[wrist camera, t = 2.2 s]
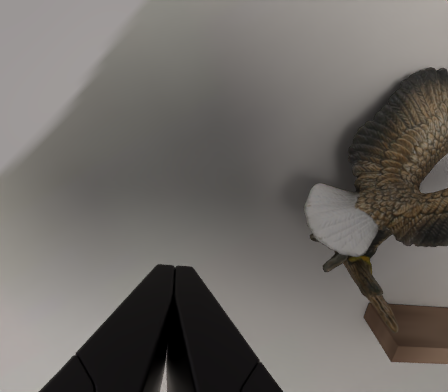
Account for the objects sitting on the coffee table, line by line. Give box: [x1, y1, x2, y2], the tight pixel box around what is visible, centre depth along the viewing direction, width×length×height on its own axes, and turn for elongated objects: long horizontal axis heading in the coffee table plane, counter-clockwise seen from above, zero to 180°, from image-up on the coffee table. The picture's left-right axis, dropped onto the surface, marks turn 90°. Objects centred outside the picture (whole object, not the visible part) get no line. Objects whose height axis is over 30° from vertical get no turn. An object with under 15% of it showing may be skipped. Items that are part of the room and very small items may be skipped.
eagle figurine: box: [304, 67, 448, 333], centre depth 14 cm, size 8×7×9 cm
